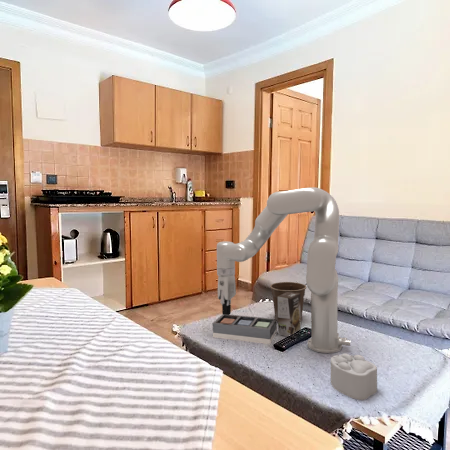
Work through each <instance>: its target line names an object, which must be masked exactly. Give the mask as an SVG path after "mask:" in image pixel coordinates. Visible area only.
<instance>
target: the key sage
mask: <svg viewBox="0 0 450 450" xmlns="http://www.w3.org/2000/svg"><path fill="white" fill-rule="evenodd" d="M269 326H270V323H268V322H257V324H256V325H255V327H260V328H268V327H269Z"/></svg>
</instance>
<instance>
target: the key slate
mask: <svg viewBox="0 0 450 450" xmlns="http://www.w3.org/2000/svg"><path fill="white" fill-rule="evenodd" d="M251 323H252V321H248V320H240V321H239V323H238V324H237V325H241V326H250V324H251Z"/></svg>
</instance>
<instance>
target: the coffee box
mask: <svg viewBox="0 0 450 450" xmlns="http://www.w3.org/2000/svg"><path fill="white" fill-rule="evenodd" d="M301 323H302V321H301V317H300V293H293V292H286V293H284V294H282V295H280V296H278V322H277V334H278V335H281V336H285V337H288V336H289V335H292V334H294V333H295V332H297V331H299V330H300V331H301V327H302V326H301V325H302V324H301ZM300 331H299V332H300Z"/></svg>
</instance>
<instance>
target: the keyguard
mask: <svg viewBox="0 0 450 450" xmlns="http://www.w3.org/2000/svg"><path fill="white" fill-rule="evenodd" d="M224 318H228V319H235V321H234V322H233V323H232V324H222V323H220V322H221V321H222V320H223V319H224ZM240 320H248V321H252V323H251V324H250V326H241V325H237V324H238V323H239V321H240ZM257 322H268V323H270V326H269V327H268V328H260V327H255V325H256V324H257ZM276 329H277V330H278V322H277V319H275V318H269V317H259V316H258V317H257V316H249V315H237V314H236V315H235V314H230V315H224V314H221V315H220V316H219V317H218V318H217V319H216V320H214V322H213V323H212V334H213V333H220V334H229V335H237V336H246V337H254V338H263V339H271V337H272V335H273V334H274V332H275V330H276Z"/></svg>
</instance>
